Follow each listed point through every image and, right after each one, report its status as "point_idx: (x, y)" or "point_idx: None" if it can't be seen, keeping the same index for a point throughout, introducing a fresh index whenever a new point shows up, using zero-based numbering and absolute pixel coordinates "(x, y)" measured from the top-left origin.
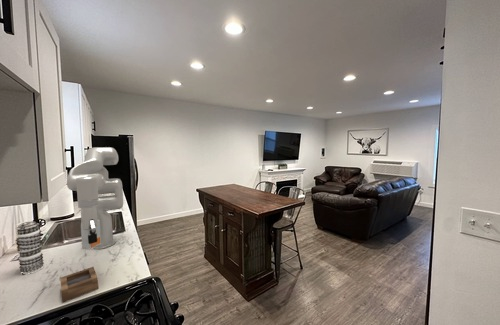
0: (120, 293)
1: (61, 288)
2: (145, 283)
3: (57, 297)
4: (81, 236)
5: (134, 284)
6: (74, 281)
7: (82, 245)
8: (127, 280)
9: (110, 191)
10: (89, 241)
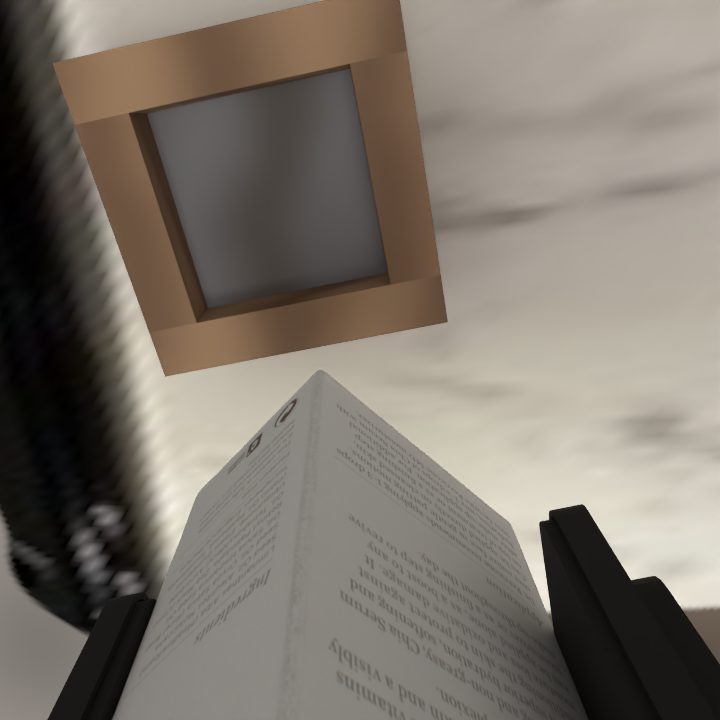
0: (48, 474)
1: (108, 53)
2: (100, 609)
3: (233, 7)
4: (297, 594)
5: (122, 553)
6: (309, 149)
7: (302, 417)
8: None
9: None
10: (96, 659)
